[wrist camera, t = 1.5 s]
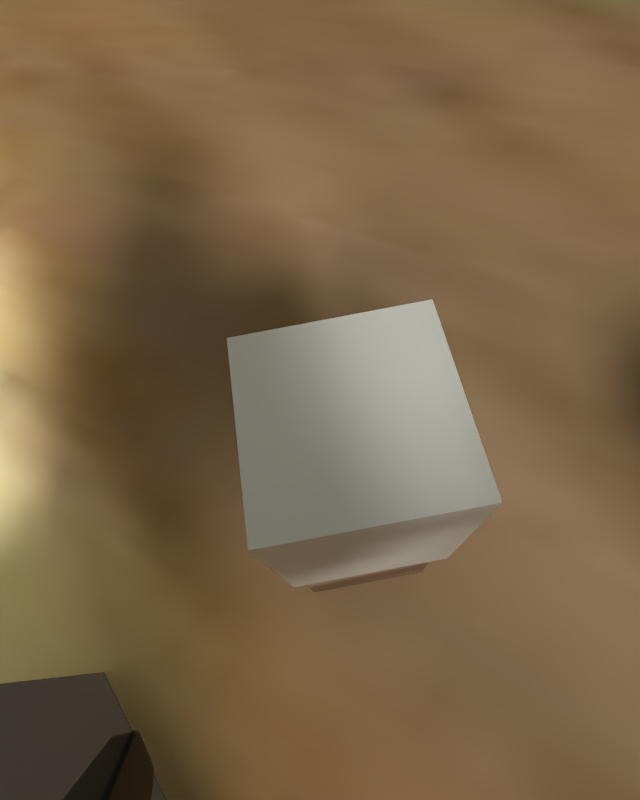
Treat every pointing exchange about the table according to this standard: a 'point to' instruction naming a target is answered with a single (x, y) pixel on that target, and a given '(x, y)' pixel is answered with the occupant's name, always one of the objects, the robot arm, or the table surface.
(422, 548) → the grey rectangular block
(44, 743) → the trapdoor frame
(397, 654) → the table surface
